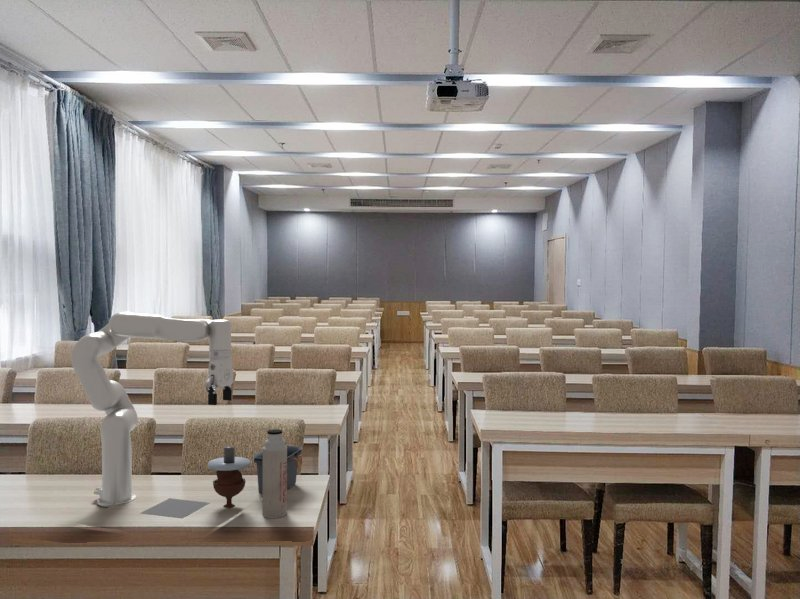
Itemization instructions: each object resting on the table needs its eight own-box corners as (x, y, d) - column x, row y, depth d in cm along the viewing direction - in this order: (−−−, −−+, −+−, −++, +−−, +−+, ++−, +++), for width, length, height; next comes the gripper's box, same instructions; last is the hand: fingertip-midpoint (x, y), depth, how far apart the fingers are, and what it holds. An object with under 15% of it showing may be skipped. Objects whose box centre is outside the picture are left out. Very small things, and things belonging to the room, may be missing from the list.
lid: (199, 468, 222) (199, 450, 222) (221, 458, 236) (221, 441, 236) (237, 472, 219) (237, 454, 218) (257, 461, 232) (257, 444, 232)
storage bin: (272, 480, 262) (272, 443, 261) (309, 482, 258) (310, 445, 258) (249, 496, 241) (249, 457, 240) (289, 500, 238) (290, 459, 237)
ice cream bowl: (226, 516, 220) (227, 471, 220) (205, 509, 227) (206, 465, 226) (252, 508, 228) (252, 464, 228) (231, 501, 235) (231, 459, 235)
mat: (140, 516, 220) (140, 513, 220) (169, 501, 235) (169, 498, 235) (182, 521, 215) (182, 518, 215) (209, 505, 231) (209, 502, 231)
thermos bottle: (291, 512, 224) (292, 429, 224) (275, 519, 217) (275, 433, 217) (273, 508, 228) (274, 426, 228) (257, 515, 222) (257, 430, 221)
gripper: (216, 357, 228) (216, 407, 229) (241, 352, 245) (241, 399, 245) (197, 356, 230) (196, 406, 231) (223, 351, 247) (223, 398, 247)
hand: (220, 402), depth 238 cm, fingers open, 9 cm apart
